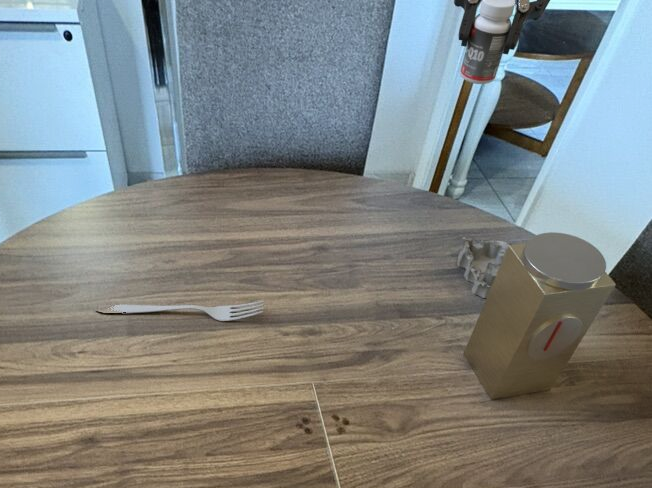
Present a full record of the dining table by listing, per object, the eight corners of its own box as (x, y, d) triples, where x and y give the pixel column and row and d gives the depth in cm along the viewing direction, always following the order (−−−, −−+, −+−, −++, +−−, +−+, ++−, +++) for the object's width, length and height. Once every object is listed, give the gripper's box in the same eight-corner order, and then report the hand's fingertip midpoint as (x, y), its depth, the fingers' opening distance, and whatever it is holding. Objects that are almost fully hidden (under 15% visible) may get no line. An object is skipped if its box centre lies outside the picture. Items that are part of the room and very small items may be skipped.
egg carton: (452, 256, 98) (459, 233, 95) (496, 254, 99) (505, 231, 96) (472, 300, 93) (481, 277, 89) (519, 298, 93) (530, 275, 90)
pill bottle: (452, 72, 83) (471, -5, 76) (480, 66, 84) (501, -11, 77) (473, 87, 81) (495, 10, 74) (502, 81, 82) (526, 4, 75)
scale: (520, 343, 88) (580, 228, 73) (553, 392, 83) (624, 279, 68) (462, 352, 86) (510, 236, 71) (491, 402, 82) (550, 289, 66)
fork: (96, 302, 88) (93, 291, 87) (263, 308, 89) (264, 298, 88) (92, 317, 87) (90, 306, 85) (263, 323, 88) (264, 313, 86)
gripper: (477, -145, 71) (431, 20, 75) (603, -128, 69) (549, 41, 73) (470, -96, 79) (428, 52, 83) (584, -79, 77) (535, 72, 81)
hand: (485, 46), depth 78 cm, fingers closed on pill bottle, 4 cm apart
